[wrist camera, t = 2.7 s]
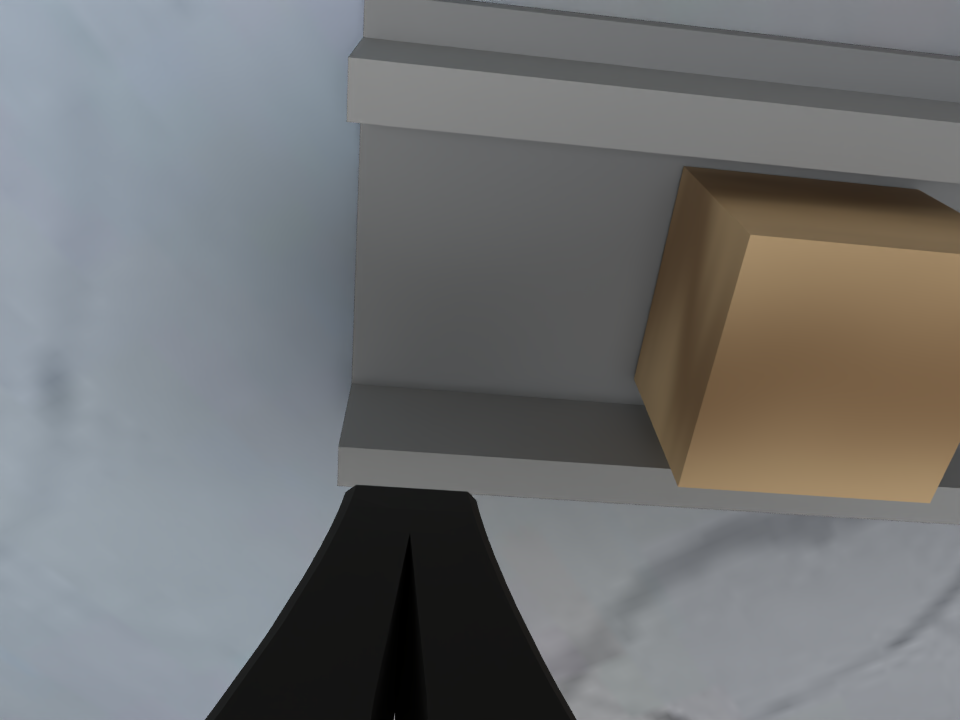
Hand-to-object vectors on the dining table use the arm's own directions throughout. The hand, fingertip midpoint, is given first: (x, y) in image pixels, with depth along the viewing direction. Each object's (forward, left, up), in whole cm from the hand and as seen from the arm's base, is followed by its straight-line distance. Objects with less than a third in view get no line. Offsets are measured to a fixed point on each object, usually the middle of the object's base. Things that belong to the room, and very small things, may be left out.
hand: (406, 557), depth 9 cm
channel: (0, +11, -10) cm, 14 cm away
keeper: (0, +8, -9) cm, 12 cm away
